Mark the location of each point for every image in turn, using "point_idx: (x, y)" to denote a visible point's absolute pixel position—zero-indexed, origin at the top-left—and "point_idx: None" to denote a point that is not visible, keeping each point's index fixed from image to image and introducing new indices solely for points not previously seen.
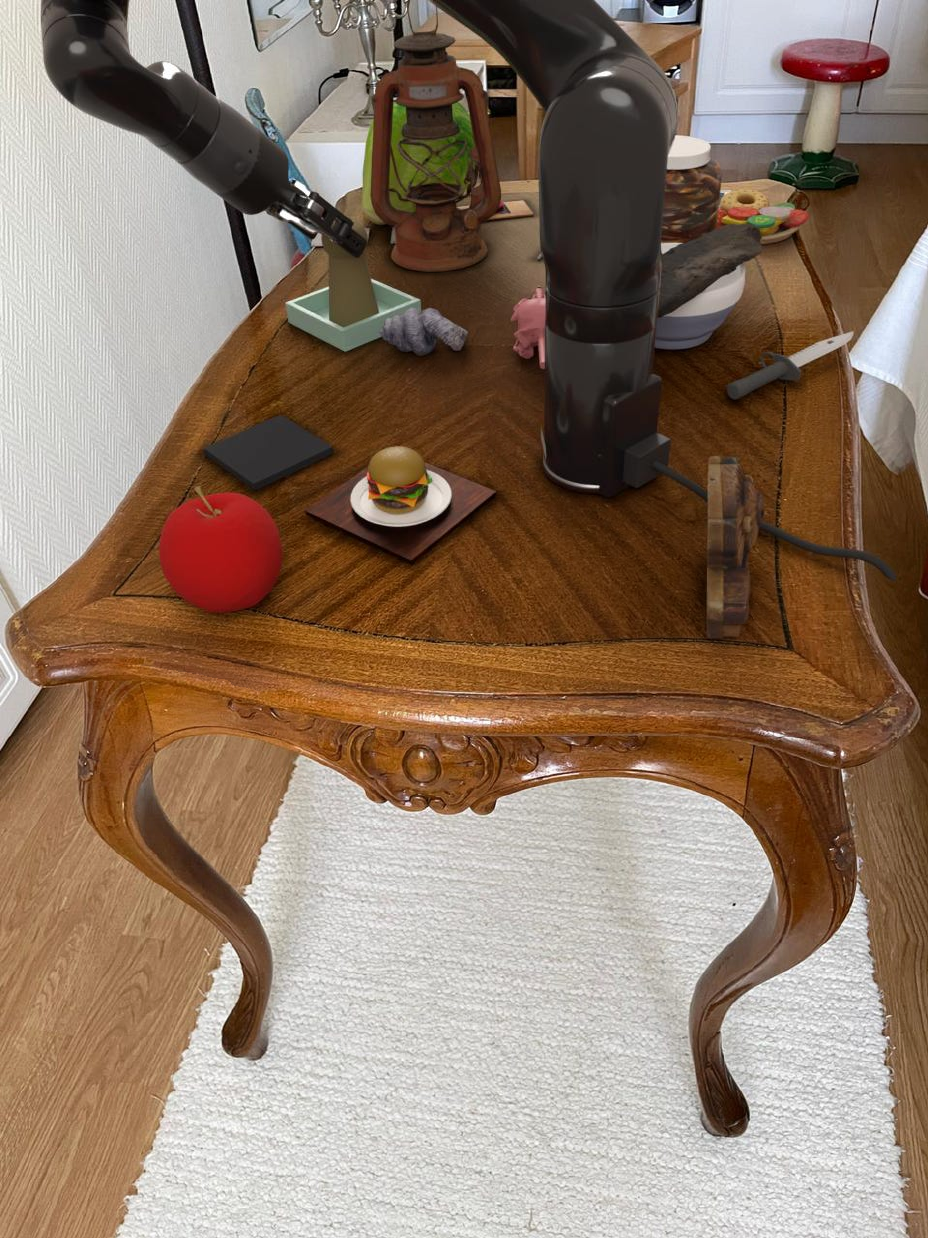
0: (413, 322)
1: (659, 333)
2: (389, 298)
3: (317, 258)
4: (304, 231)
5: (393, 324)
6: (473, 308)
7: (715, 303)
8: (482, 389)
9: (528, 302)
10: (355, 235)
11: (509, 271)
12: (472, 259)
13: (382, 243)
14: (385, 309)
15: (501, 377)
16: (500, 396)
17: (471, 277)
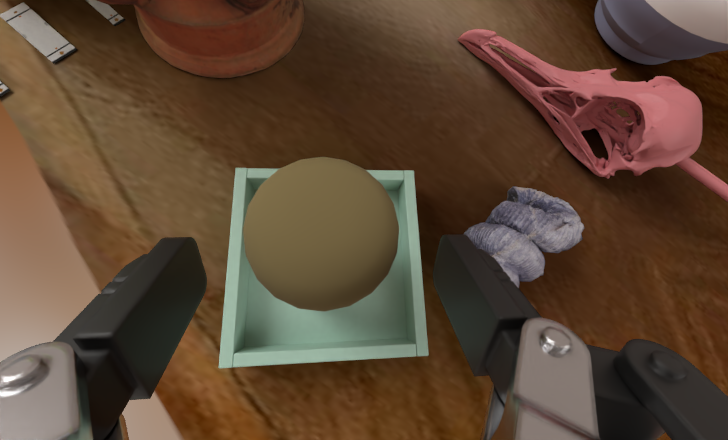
0: (540, 264)
1: (707, 53)
2: None
3: (32, 140)
4: (186, 320)
5: None
6: (424, 111)
7: None
8: (636, 267)
9: (680, 121)
10: (518, 292)
11: (360, 3)
12: (300, 6)
13: (98, 31)
14: None
15: (620, 227)
16: (664, 263)
17: (335, 44)
